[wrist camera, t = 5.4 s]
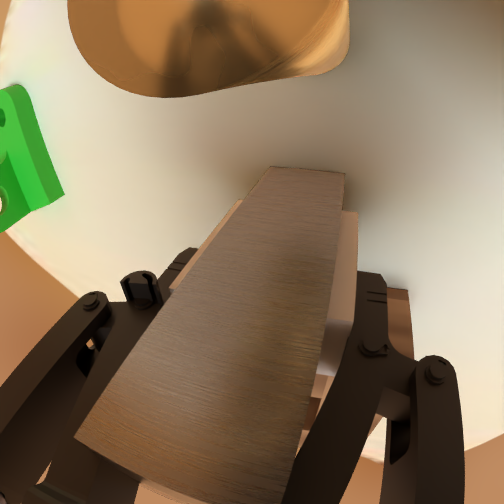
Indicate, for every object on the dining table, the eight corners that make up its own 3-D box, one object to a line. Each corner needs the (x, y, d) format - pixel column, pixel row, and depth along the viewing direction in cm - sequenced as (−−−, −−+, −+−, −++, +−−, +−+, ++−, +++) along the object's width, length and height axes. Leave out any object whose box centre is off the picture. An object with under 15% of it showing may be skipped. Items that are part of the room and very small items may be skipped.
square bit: (270, 166, 16) (73, 437, 4) (345, 173, 15) (274, 521, 3) (271, 230, 18) (140, 485, 7) (338, 239, 17) (270, 530, 6)
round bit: (265, 2, 11) (73, -82, 2) (348, 3, 10) (324, -154, 1) (268, 74, 13) (77, 114, 4) (349, 78, 12) (350, 97, 3)
